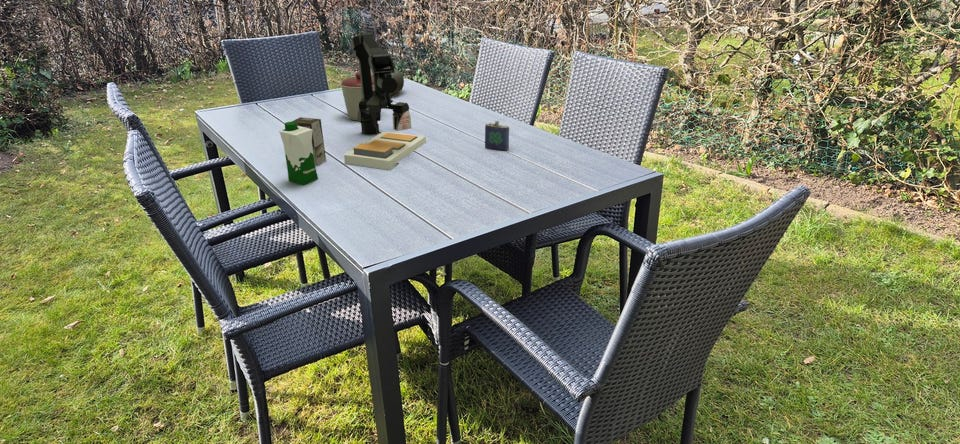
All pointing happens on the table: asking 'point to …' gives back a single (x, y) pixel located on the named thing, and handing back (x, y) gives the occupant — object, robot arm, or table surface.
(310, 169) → the milk carton
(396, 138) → the orange cabinet drawer
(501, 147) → the flask
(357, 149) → the switch
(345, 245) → the table surface
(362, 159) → the cream board with panels
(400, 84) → the gourd
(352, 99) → the canister
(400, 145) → the orange drawer
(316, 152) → the coffee box
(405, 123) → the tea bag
